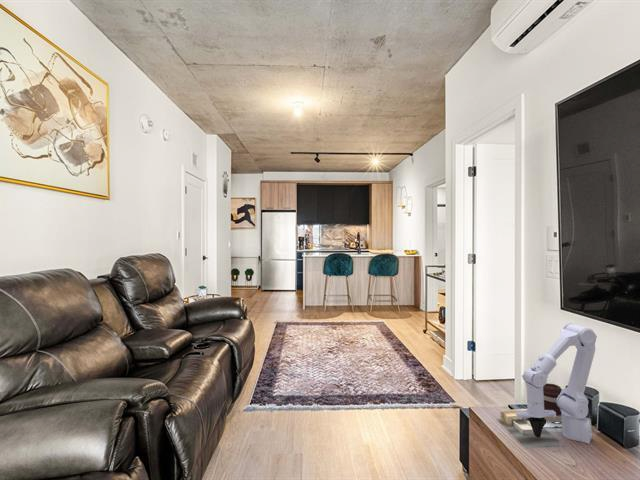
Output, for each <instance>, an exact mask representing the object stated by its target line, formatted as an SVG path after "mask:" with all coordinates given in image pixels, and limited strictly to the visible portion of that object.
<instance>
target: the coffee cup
mask: <svg viewBox="0 0 640 480" xmlns="http://www.w3.org/2000/svg"><path fill="white" fill-rule="evenodd" d="M562 389H563V388H562V387H561V386H560V385H558V384H554V383H547V382H546V385H544V386H543V394H544V410H553V411H555V412H556V417H544V418H545V419H546V420H547V421H546V422H548V421H549V422H548V423H550V422H562V413H561V411H560V408H559V407H558V405H557V402H556V400H557V397H558V396H559V395H560V393H561V390H562Z"/></svg>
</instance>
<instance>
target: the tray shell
mask: <svg viewBox="0 0 640 480" xmlns="http://www.w3.org/2000/svg"><path fill="white" fill-rule="evenodd" d="M512 425H513V426H514V427H515V428H516V429H517V430H518V431H519V432H520V433H522V434H523V435H534V432H533V429H532V426H531V424H530V422H529V421H528V420H527V419H512Z"/></svg>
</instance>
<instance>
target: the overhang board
mask: <svg viewBox="0 0 640 480" xmlns="http://www.w3.org/2000/svg"><path fill="white" fill-rule="evenodd" d="M524 410H528V408H515V409H500V418H496V421H497V422H499V424H500V425H501V426H502V427H503V428H504V429H506V431H508V432H509V433H510V435H512V436H513V437H514V438H515V439H516V440H518V442H519V443H520V444H521V445H523V447H525V449H536V448H557V447H566V445H565V444H564V443H563V442H561V441H560V440H559V439H558V438H556V437H555V436H554V435H553V434H551V433H550V432H549V431H547V429H546V428H544V427H543V429H542V432H541V437H536V436H535V435H523V434H522V433H520V432H519V431H518V430H517V429H516V428H515V427H514V426H513V425H512V419H518V418H517V416H516V412H521V411H524ZM522 419H527V418H522ZM527 420H528V419H527ZM528 421H529V420H528Z"/></svg>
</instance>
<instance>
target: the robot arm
mask: <svg viewBox="0 0 640 480" xmlns="http://www.w3.org/2000/svg"><path fill="white" fill-rule="evenodd" d="M597 339H598V335H597V334H596V333H595V332H594V330H593V329H592V328H590V327H584V326H581V325H578V324H575V323H565V325H564V326H563V328H562V329H560V335H559V337H558V338H557V340H556V341H555V342H554V344H553V345H552V347H550V349H549V350H548V352H547V353H543V354H541V355H540V356H538V359H537V360H536V361H535V363H533V365H532V366H531V367H530V368H526V369H525V370H524V372H523V374H522V380H523V381H524V382H525V387H526V388H525V389H526V403H527V404H526V406H527V407H526V409H528V410H524V411H521V412H516V416H517V418H518V419H522V418H527V419H528V420H529V422H530V424H531V426H532V429H533V432H534V435H535V436H536V437H541V432H542V429H543V428H544V427H545V425H546V423H547V421H546V419H545V418H544V417H556V412H555V411H553V410H544V394H543V386H544V385H546V384H547V382H548V378H549V374H550V373H551V372H552V371H553V370H554V368H555V367H556V366H557V359H558V358H560V357H561V356H562V355H563V354H564V352H565V351H567V350H568V348H569V347H573V346H574V347H575V348H576V353H575V359H574V361H573V365H572V369H571V372H570V376H569V380H568V382H567V383H568V384H567V386H566V387H564V388H561V389H562V390H561V393H560V395H559V396H558V397H557V400H556V402H557V405H558V407H559V408H560V411H561V413H562V423H561V429H562V436H564V437H565V438H567V439H569V440H572V441H577V442H582V443H586V444H590V443H591V441H592V440H593V439H592V438H593V435H592V434H593V433H592V419H590V418H589V417H587V416H588V414H589V407H588V406H589V400H588V398H587V396H586V395H585V391H586V387H587V384H588V378H589V375H590V371H591V369H592V363H593V361H594V357H595V354H596V353H595V352H596V341H597Z"/></svg>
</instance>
